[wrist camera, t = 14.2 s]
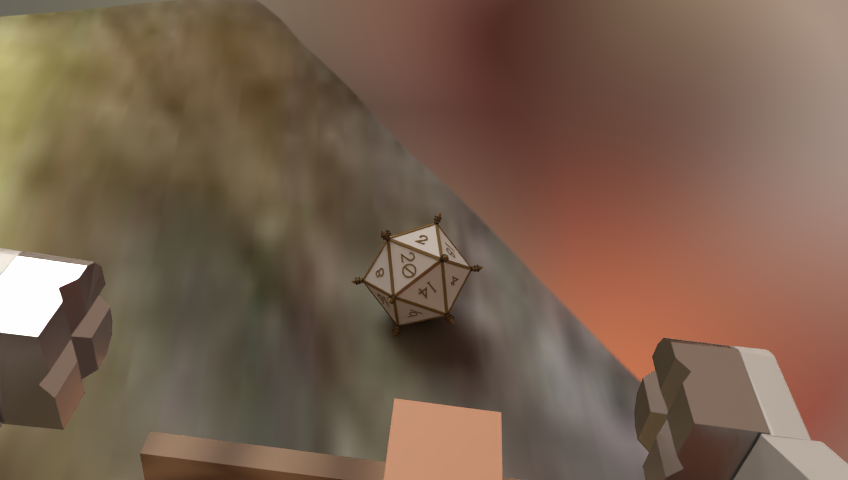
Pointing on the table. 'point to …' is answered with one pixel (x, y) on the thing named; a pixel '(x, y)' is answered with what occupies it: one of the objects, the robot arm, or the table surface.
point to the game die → (417, 275)
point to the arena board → (246, 462)
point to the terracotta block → (443, 443)
